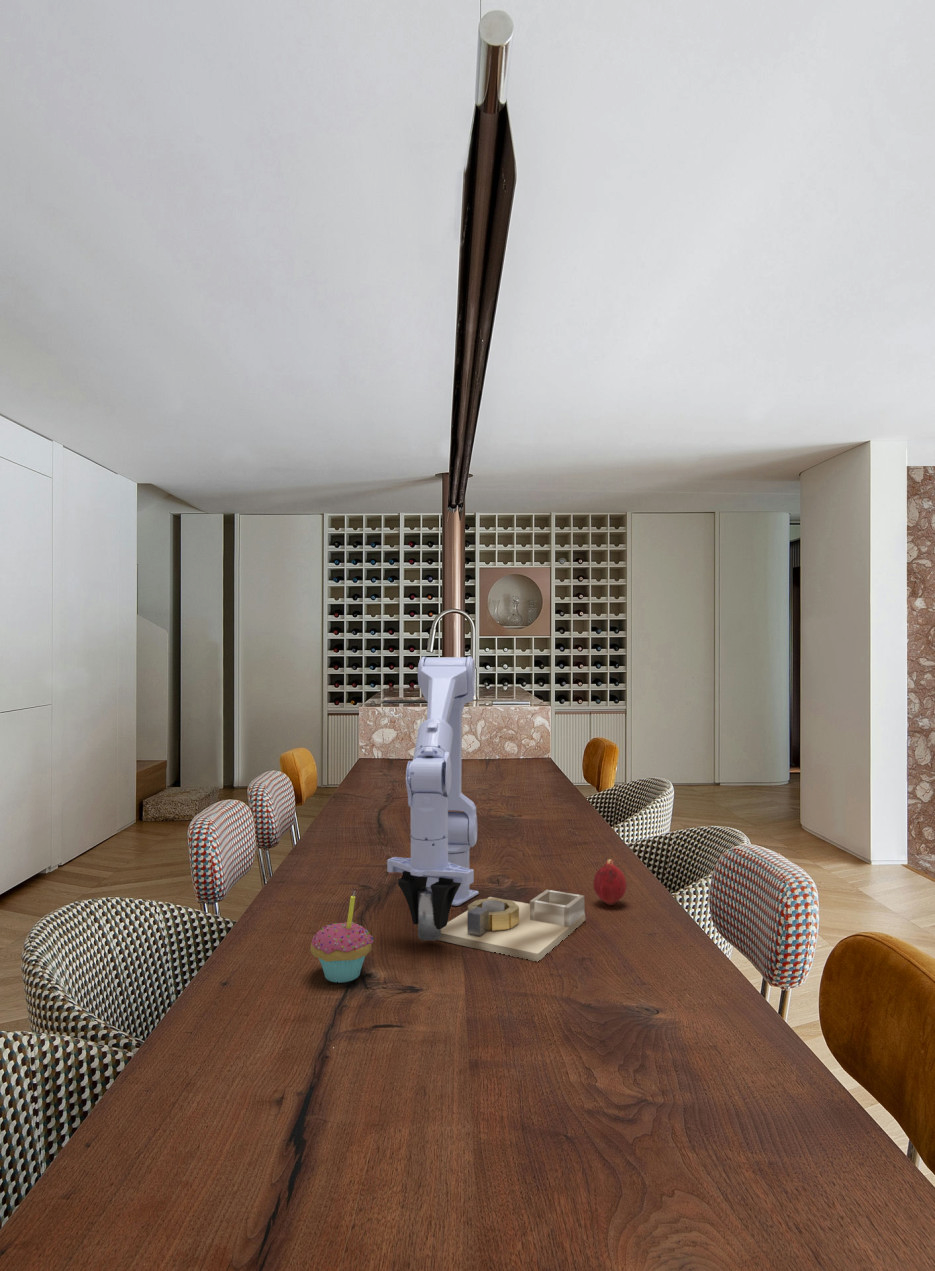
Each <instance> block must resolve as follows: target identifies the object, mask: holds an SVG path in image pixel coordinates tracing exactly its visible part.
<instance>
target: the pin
mask: <svg viewBox="0 0 935 1271" xmlns="http://www.w3.org/2000/svg"><path fill="white" fill-rule="evenodd" d="M441 936H442V934H441V929H440V930H439V929H436V925H435V905H434V898H433V894H432V890H431V887H423V888H420V889H418V924H417V937H418V938H419V940H421V941H426V942H427V941H428V942H432V941H438V940H437V939H439V938H441Z"/></svg>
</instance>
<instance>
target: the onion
mask: <svg viewBox="0 0 935 1271" xmlns="http://www.w3.org/2000/svg"><path fill="white" fill-rule="evenodd" d="M592 883H593V889H594V893H595V894H596V895H597V896H598V898H599V899H600V901H602V902H603V903H605V904H606V905H608V906H612V905H615V903H617V902H618V901H620V899H622V897H624V895H625V893H626V891H627V879H626V876H625V874H624V872H623V871H622V870H621V869H620V868H619V867H618V866H617V865H615V864H614V860H613V859H610V858H609V859H607V860H606V863H605V864H604V865H602V866H601V867H600V868H598V870H597V871H596V873H595V874H594V876H593V882H592Z"/></svg>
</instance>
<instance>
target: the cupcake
mask: <svg viewBox="0 0 935 1271" xmlns="http://www.w3.org/2000/svg"><path fill="white" fill-rule="evenodd" d="M355 894H356V891H355V890H354V891H353V893H352V895H351V896H350V900H349V906H348V913H347V921H346V922H334V923H329V924H327V925H325V926H323V927H321V928H320V929H319V930H317V931H316V933H314V935H313V937H312V939H311V943H310V949H309V951H310V953H311V955H312V956H314V957H315V958H317V959H318V960H319V962H320V964H321V965H320V966H321V967H322V971H323V974H324V978H325V979H326V980H327V981H329V982H332V983H337V982H338V983H339V984H341V983H349V982H352V981H354V980H356V979H358V978H359V976H360V975H361V971H362V967H363V964H364V961H365V959H366V956H367V955H368V954H369V953H370V952H372V948H373V946H372V945H373V944H374V938H373V935H371V934H370V931H368V929H366V928H365V927H364V926H362V925H360V924H359V923H358V924H357V923H356V922H354V921H353V918H354V909H355V904H356V896H355ZM338 983H337V984H338Z"/></svg>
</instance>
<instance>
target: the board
mask: <svg viewBox="0 0 935 1271" xmlns="http://www.w3.org/2000/svg"><path fill="white" fill-rule="evenodd" d="M489 898H495V899H496V898H497V897H495V896H494V897H493V896H488V897H487V898H486V899H489ZM499 899H501V898H499ZM509 900H510V901H512V900H511V899H509ZM513 901H514V902H515V903H516V904H517V905H518V906H519V923H518V924H517V925H515V926H514V927H512V928H509V929H505V930H495V931H492V930H490V931H489V930H488V931H486V932H485V933H483V934H482V935H481V936H478V935H473V934H469V933H468V918H467V912H468V909H467V910H466V911H464V912H462V913H461V914H459V915H457V916H456V917H453V918H452V919H451V920H448V921H447V926H445V927H444V928H442V929H441V934H442V936H441V938H439V939H437V940H436V941H439V942H444V943H450V944H454V945H458V946H463V947H467V948H472V949H477V950H480V951H481V950H482V951H485V952H491V953H494V952H496V953H495V954H499V953H501V954H500V955H503V954H505V955H504V956H508V955H510V956H509V957H512V956H513V958H517V957H519V958H518V959H522V958H523V960H526V959H528V960H527V961H530V962H531V961H532V962H535V961H537V963H539V962H540V961H541V960H543V958H545V957H546V956H547V955H548V954H549V953H551V952H552V949H553V948H554V947H555V946H556V947H557V946H558V945H559V944H561V943H562V942H563V941H564V940H566V939H567V938H568V937H569V936H570V935H571V934H572V933H573V932H574V931H575V929H576V928H577V929H578V928H579V927H580V926H581V925H582V924H584V923H585V922H586V913H585V895H584V894H583V895H582V894H576V893H571V892H565V891H558V890H551V889H545V890H544V891H543V892H541V893H539V894H538V895H537V896H535V897H534V898H532V899H531V900H529V903H527V902H523V901H522V902H521V901H515V900H513ZM482 908H486V909H489V912H498V911H504V903H503V902H502V901H497V900H489V901H485V902H483V903H482ZM584 921H585V922H584ZM583 922H584V923H583ZM577 929H576V930H577ZM568 935H569V936H568ZM562 940H563V941H562ZM561 941H562V942H561ZM560 942H561V943H560ZM556 947H555V948H556ZM555 948H554V949H555ZM554 949H553V950H554ZM547 953H548V954H547ZM546 954H547V955H546ZM545 955H546V956H545ZM539 960H540V961H539ZM538 961H539V962H538Z"/></svg>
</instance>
